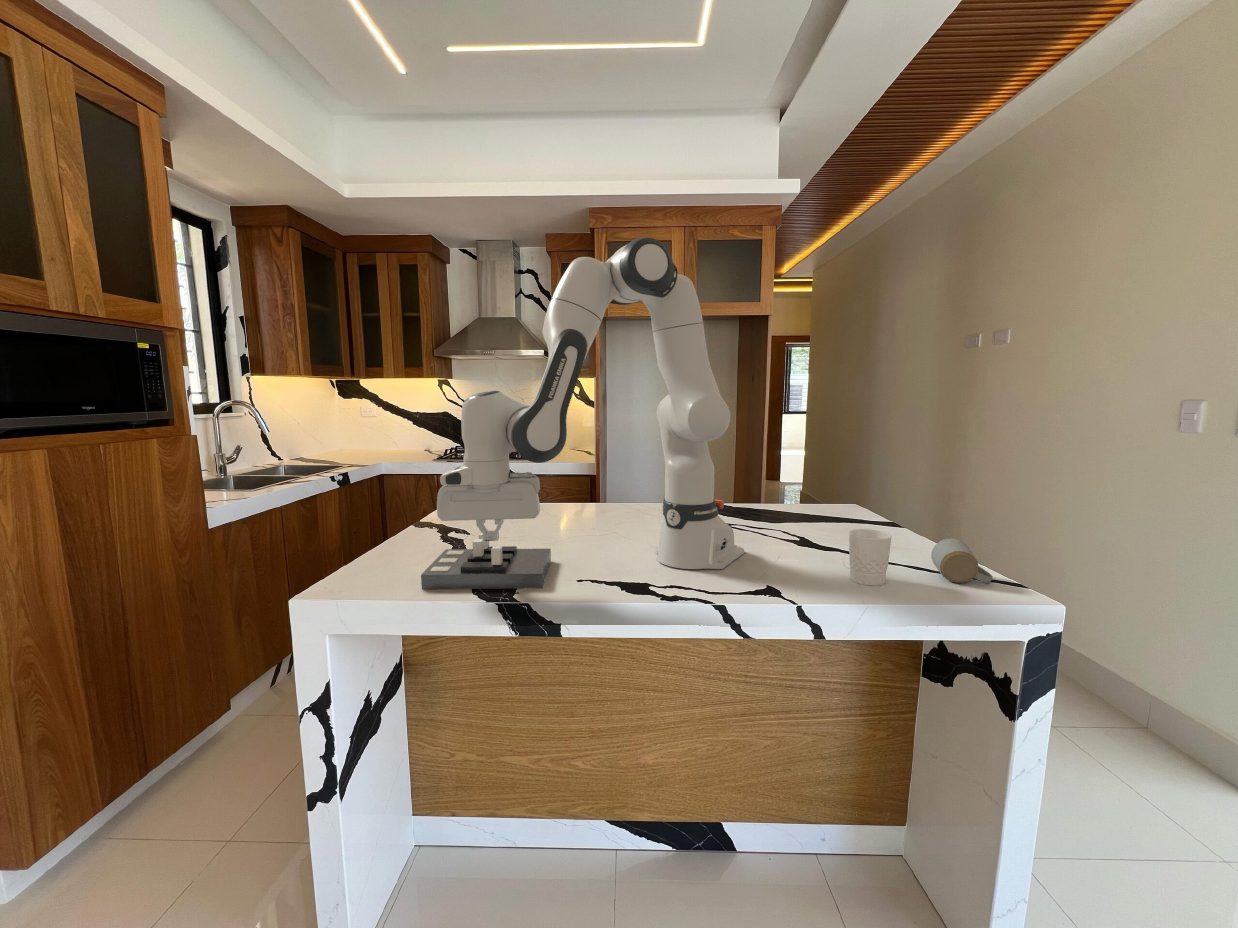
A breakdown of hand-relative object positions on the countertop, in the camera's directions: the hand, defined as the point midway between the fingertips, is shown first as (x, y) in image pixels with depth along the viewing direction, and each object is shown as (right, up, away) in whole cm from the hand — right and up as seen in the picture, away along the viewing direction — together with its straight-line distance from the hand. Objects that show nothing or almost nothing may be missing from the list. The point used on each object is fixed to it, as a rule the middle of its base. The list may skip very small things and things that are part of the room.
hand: (491, 540), depth 112 cm
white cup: (+78, -9, +3) cm, 78 cm away
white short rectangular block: (-4, -3, +11) cm, 13 cm away
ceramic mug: (+98, -9, +4) cm, 98 cm away
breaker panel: (-2, -8, +7) cm, 11 cm away
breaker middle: (-4, -4, +6) cm, 8 cm away
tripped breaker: (+1, -5, +1) cm, 5 cm away
